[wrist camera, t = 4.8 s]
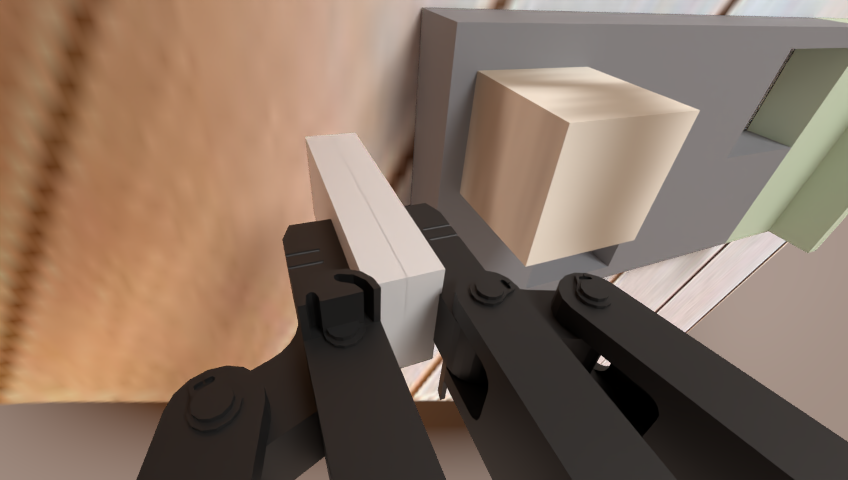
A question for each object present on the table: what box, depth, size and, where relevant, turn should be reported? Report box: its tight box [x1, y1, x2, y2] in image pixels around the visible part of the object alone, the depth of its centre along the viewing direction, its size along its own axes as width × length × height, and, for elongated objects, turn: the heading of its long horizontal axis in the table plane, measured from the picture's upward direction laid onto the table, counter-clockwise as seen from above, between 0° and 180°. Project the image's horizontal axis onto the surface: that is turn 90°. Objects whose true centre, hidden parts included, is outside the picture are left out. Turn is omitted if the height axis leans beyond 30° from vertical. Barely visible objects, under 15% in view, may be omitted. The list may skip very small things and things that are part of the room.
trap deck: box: [411, 8, 848, 290], centre depth 22 cm, size 32×15×6 cm, turn 86°
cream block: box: [460, 67, 700, 267], centre depth 14 cm, size 5×5×5 cm
